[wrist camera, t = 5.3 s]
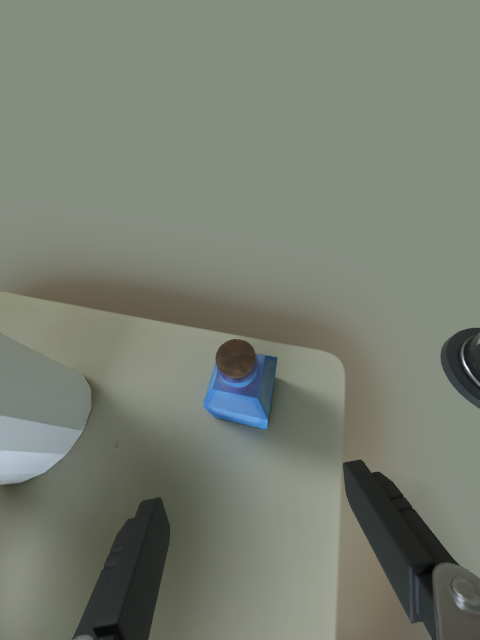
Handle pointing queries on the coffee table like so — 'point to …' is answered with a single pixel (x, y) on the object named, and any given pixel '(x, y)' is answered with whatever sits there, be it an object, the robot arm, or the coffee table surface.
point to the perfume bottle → (241, 385)
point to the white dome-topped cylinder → (37, 411)
